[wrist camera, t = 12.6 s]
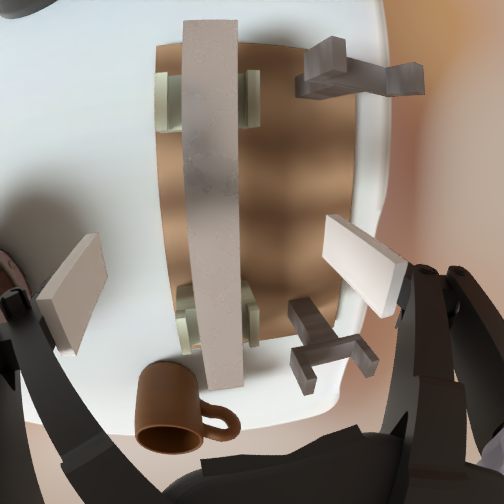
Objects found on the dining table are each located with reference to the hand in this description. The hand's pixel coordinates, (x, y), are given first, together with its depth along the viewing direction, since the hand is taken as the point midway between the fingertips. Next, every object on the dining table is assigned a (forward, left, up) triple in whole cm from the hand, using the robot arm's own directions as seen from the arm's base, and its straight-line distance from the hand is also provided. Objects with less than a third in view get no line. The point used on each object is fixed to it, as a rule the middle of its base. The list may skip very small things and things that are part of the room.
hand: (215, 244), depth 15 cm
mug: (+22, -5, -11) cm, 25 cm away
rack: (+1, +5, -10) cm, 12 cm away
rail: (+1, 0, -5) cm, 5 cm away
